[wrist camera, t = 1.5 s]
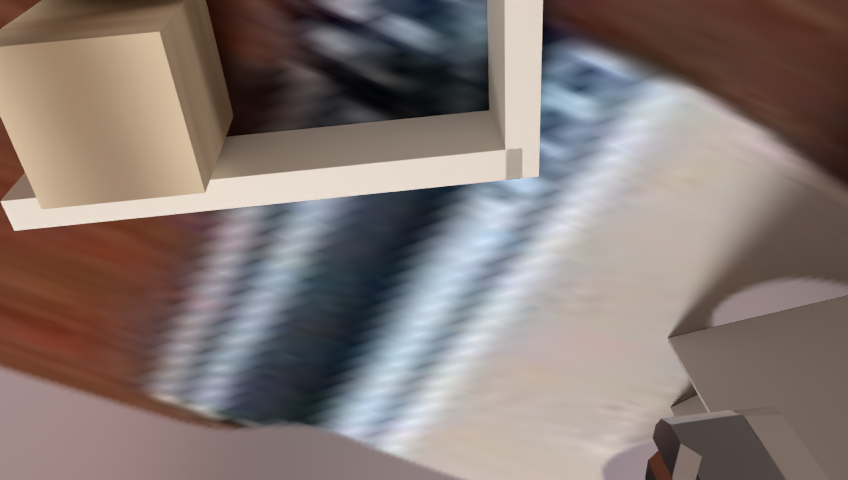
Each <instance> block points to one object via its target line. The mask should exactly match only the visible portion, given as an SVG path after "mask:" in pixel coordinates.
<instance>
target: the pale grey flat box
mask: <svg viewBox="0 0 848 480" xmlns="http://www.w3.org/2000/svg"><path fill="white" fill-rule="evenodd" d="M668 342H669V344H670V346H671V348H672V349H673V351H674V353H675V355H676V357H677V358H678V360H679V362H680V364H681V365H682V367H683V369H684V371H685V373H686V374H687V376H688V378H689V380H690V381H691V383H692V385H693V387H694V388H695V390H696V392H697V395H695V396H693V397H691V398H689V399H687V400H685V401H683V402H681V403H679V404H677V405H675V406H673V407H671V409H672V411H673V413H674V415H675V417H678V416H686V415H694V414H702V413H710V412H718V411H726V410H730V411H734V410H741V409H750V408H760V407H769V406H772V407H774V408H775V409H777V410H778V411H780V413H781V414H782V415H783V417H784V418H785V419H786V421H787V422H788V423H789V425H790V426H791V427H792V429H793V430H794V432H795V433H796V434H797V436H798V437H799V438H800V440H801V441H802V442H803V444H804V445H805V447H806V448H807V449H808V451H809V452H810V453H811V455H812V456H813V457H814V459H815V460H816V462H817V463H818V464H819V466H820V467H821V468H822V470H823V471H824V472H825V474H826V475H827V477H828V478H829V479H830V480H848V295H847V296H843V297H839V298H835V299H831V300H826V301H822V302H818V303H814V304H810V305H805V306H801V307H797V308H793V309H788V310H784V311H780V312H776V313H771V314H767V315H763V316H758V317H754V318H750V319H746V320H741V321H737V322H733V323H729V324H725V325H721V326H716V327H712V328H708V329H703V330H699V331H695V332H691V333H686V334H682V335H678V336H674V337H669V338H668Z"/></svg>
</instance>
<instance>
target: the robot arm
mask: <svg viewBox="0 0 848 480" xmlns="http://www.w3.org/2000/svg"><path fill="white" fill-rule="evenodd" d="M653 440H654V442H655V444H656V446H657V448H658V452H656V453H655V454H654V455H653V456H652V457H651V458H650V459H649V460H648V463H647V469H646V475H645V480H830V479H829V478H828V477H827V475H826V474H825V472H824V471H823V470H822V468H821V467H820V466H819V464H818V463H817V462H816V460H815V459H814V457H813V456H812V455H811V453H810V452H809V451H808V449H807V448H806V447H805V445H804V444H803V442H802V441H801V440H800V438H799V437H798V436H797V434H796V433H795V432H794V430H793V429H792V427H791V426H790V425H789V423H788V422H787V421H786V419H785V418H784V417H783V415H782V414H781V413H780V411H778V410H777V409H775V408H774V407H772V406H769V407H760V408H750V409H741V410H734V411H730V410H726V411H718V412H710V413H702V414H694V415H686V416H678V417H670V418H662V419H660V420H659V422H658V423H657V424H656V426H655V430H654V434H653Z"/></svg>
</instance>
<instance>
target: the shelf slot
mask: <svg viewBox="0 0 848 480" xmlns="http://www.w3.org/2000/svg"><path fill="white" fill-rule="evenodd" d="M542 23H543V0H487V24H488V75H489V110H488V111H478V112H468V113H458V114H448V115H438V116H428V117H418V118H408V119H398V120H388V121H378V122H368V123H358V124H348V125H338V126H328V127H318V128H308V129H298V130H288V131H278V132H268V133H258V134H249V135H239V136H229V137H226V138H225V141H224V143H223V146H222V149H221V151H220V154H219V157H218V160H217V162H216V165H215V168H214V170H213V173H212V176H211V178H210V181H209V184H208V187H207V189H206V192H205V193H199V194H189V195H179V196H170V197H160V198H150V199H140V200H130V201H120V202H110V203H101V204H91V205H81V206H71V207H61V208H51V209H41V207H40V204H39V202H38V200H37V198H36V195H35V193H34V191H33V189H32V186H31V184H30V182H29V180H28V177H27V175H26V173H24V174H23V175H22V177H21V178H20V179H19V180H18V181H17V182H16V184H15V185H14V186H13V187H12V188H11V189H10V191H9V192H8V193H7V194H6V195H5V196H4V198H3V199H2V200H1V204H2V206H3V208H4V210H5V212H6V214H7V216H8V218H9V220H10V222H11V224H12V227H13V229H14V231H17V230H26V229H36V228H46V227H55V226H65V225H75V224H84V223H94V222H104V221H113V220H123V219H133V218H142V217H152V216H162V215H171V214H181V213H191V212H200V211H210V210H220V209H229V208H239V207H249V206H258V205H268V204H278V203H287V202H297V201H307V200H316V199H326V198H336V197H345V196H355V195H365V194H374V193H384V192H394V191H403V190H413V189H423V188H432V187H442V186H452V185H461V184H471V183H481V182H490V181H500V180H510V179H519V178H529V177H539V145H540V105H541V64H542Z"/></svg>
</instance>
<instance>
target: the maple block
mask: <svg viewBox="0 0 848 480" xmlns="http://www.w3.org/2000/svg"><path fill="white" fill-rule="evenodd" d="M0 116H1V119H2V121H3V123H4V125H5V128H6V130H7V132H8V134H9V137H10V139H11V141H12V143H13V146H14V148H15V150H16V152H17V155H18V157H19V159H20V162H21V164H22V166H23V168H24V171H25V173H26V175H27V177H28V180H29V182H30V184H31V186H32V189H33V191H34V193H35V195H36V198H37V200H38V202H39V204H40V207H41V209H51V208H61V207H71V206H81V205H91V204H101V203H110V202H120V201H130V200H140V199H150V198H160V197H170V196H179V195H189V194H199V193H205V192H206V189H207V187H208V184H209V181H210V178H211V176H212V173H213V170H214V168H215V165H216V162H217V160H218V157H219V154H220V151H221V149H222V146H223V143H224V141H225V138H226V135H227V132H228V130H229V127H230V124H231V122H232V119H233V116H234V115H233V111H232V107H231V103H230V99H229V95H228V90H227V86H226V82H225V78H224V74H223V70H222V65H221V61H220V57H219V53H218V49H217V45H216V40H215V36H214V32H213V28H212V24H211V20H210V15H209V11H208V7H207V3H206V0H42V1H41V2H39V3H38V4H36V5H35V6H33V7H32V8H30V9H29V10H28V11H26V12H25V13H23V14H22V15H20V16H19V17H17V18H16V19H14V20H13V21H12V22H10V23H9V24H7V25H6V26H4V27H3V28H1V29H0Z"/></svg>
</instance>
